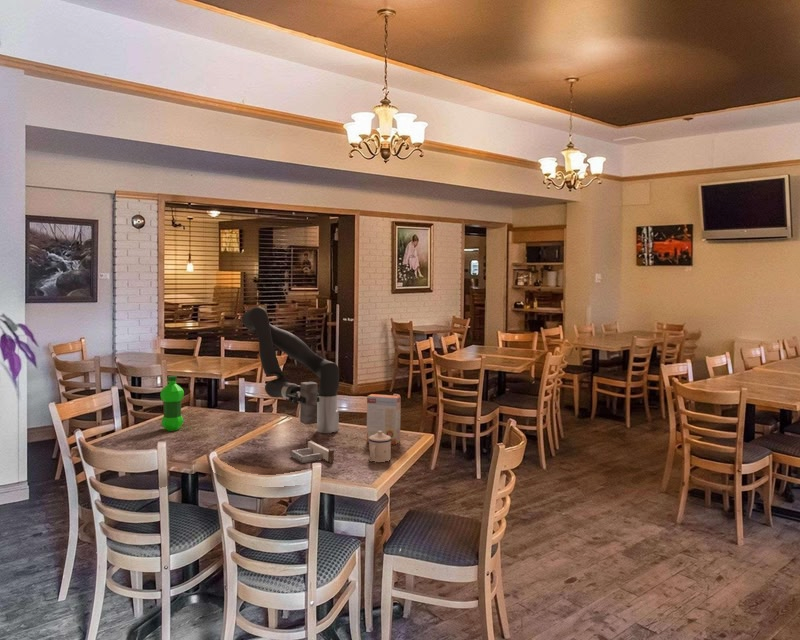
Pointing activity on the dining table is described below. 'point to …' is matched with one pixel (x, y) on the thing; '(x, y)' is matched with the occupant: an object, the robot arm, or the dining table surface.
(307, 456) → the grey open box
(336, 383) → the robot arm
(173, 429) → the plastic bottle
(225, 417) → the dining table surface
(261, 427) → the dining table surface
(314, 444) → the gate panel
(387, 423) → the cracker box
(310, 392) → the post
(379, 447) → the teacup with lid
